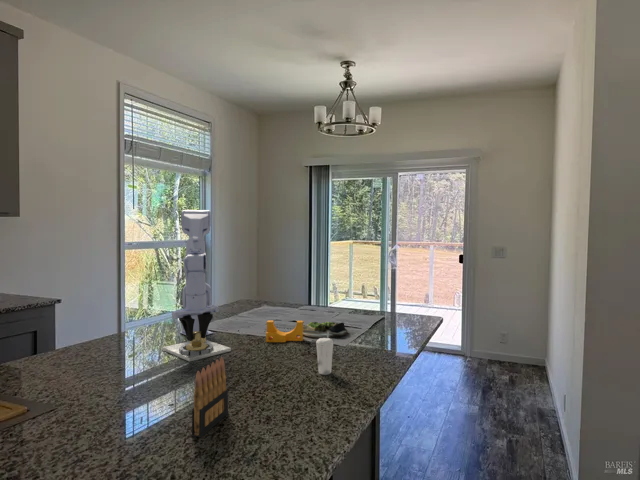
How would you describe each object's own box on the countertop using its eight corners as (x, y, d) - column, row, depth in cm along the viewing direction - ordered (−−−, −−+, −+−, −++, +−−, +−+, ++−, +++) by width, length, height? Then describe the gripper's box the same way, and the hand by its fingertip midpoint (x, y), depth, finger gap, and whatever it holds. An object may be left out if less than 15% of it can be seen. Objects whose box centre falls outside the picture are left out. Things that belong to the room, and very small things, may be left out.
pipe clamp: (266, 342, 143) (266, 323, 143) (268, 339, 148) (267, 320, 147) (302, 342, 143) (302, 323, 143) (303, 339, 147) (303, 320, 147)
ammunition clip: (220, 412, 89) (219, 354, 89) (228, 413, 89) (228, 355, 89) (191, 436, 79) (190, 371, 79) (200, 437, 79) (199, 372, 78)
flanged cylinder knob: (183, 349, 131) (183, 331, 131) (203, 346, 134) (203, 328, 134) (189, 354, 126) (188, 335, 126) (209, 351, 129) (209, 333, 129)
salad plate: (295, 341, 145) (295, 327, 145) (290, 329, 163) (290, 316, 163) (351, 339, 148) (351, 325, 148) (340, 327, 166) (340, 315, 166)
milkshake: (336, 369, 115) (336, 332, 115) (330, 376, 110) (330, 337, 110) (320, 368, 117) (320, 331, 117) (313, 374, 112) (313, 336, 112)
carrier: (162, 350, 134) (162, 337, 133) (202, 341, 144) (202, 329, 144) (189, 361, 123) (189, 347, 122) (230, 351, 133) (230, 338, 133)
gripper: (180, 298, 122) (180, 346, 122) (224, 292, 132) (224, 336, 133) (168, 295, 127) (168, 341, 127) (211, 290, 137) (211, 332, 138)
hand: (196, 339), depth 130 cm, fingers open, 4 cm apart
